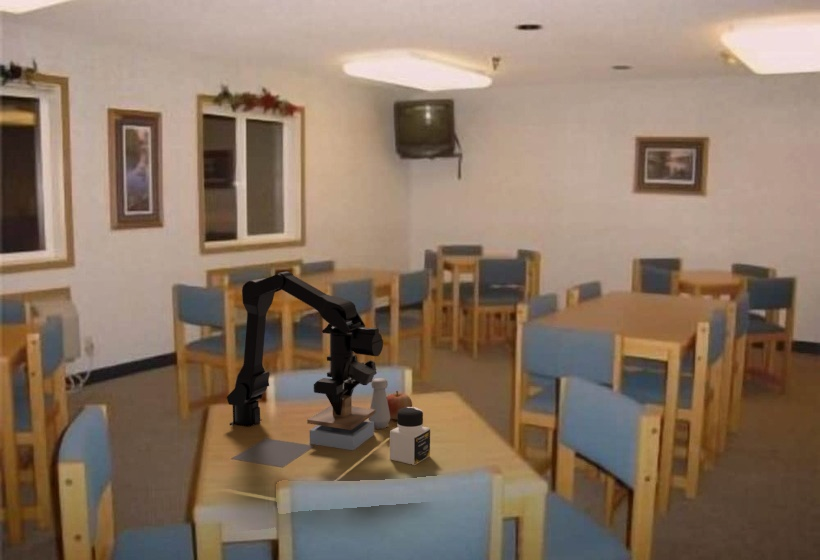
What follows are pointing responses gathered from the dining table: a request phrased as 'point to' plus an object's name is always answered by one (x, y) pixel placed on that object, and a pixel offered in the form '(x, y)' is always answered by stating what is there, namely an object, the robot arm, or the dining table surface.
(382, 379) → the salt shaker
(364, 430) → the blue-grey open box
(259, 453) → the mat
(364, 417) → the lid
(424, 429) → the medicine bottle
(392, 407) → the apple
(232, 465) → the dining table surface
